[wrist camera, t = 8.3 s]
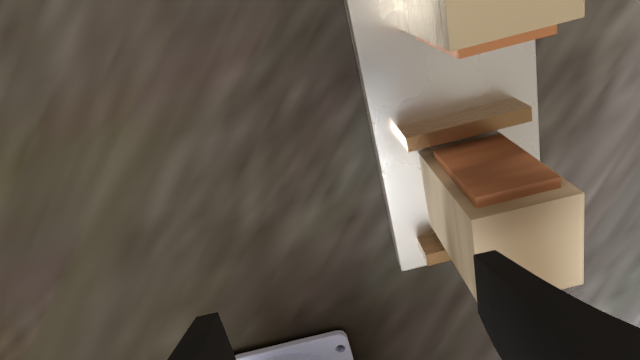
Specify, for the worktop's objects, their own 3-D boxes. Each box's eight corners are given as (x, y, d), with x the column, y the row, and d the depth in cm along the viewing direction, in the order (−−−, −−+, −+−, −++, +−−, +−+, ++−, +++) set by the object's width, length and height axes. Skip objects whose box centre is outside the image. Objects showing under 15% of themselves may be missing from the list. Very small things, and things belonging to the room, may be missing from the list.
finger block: (499, 124, 19) (584, 181, 14) (505, 204, 21) (583, 284, 16) (417, 144, 20) (470, 209, 14) (429, 223, 21) (480, 308, 16)
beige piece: (530, 224, 23) (629, 322, 17) (396, 257, 23) (441, 367, 17) (513, -116, 17) (658, -174, 10) (330, -67, 17) (360, -94, 11)
